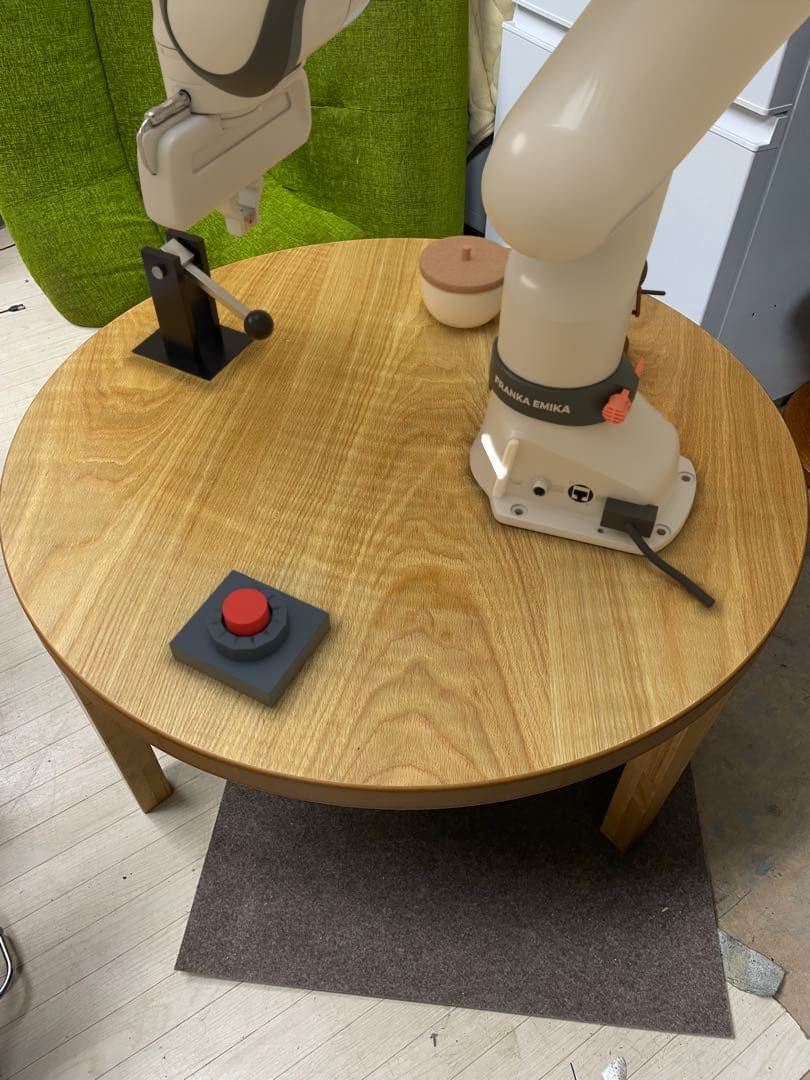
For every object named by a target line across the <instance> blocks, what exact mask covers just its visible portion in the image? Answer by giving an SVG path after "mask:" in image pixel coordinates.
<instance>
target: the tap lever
mask: <svg viewBox="0 0 810 1080" xmlns="http://www.w3.org/2000/svg"><path fill="white" fill-rule="evenodd" d="M159 250H162V251H165V252H168V253H171V254H174V255H177V256H180V260H181V265H182V269H183V274H184V275H185V276H186V277H188V278H189V279H190V280H191V281H193V282H194V283H195V284H197V285H198V286H199V287H200V288H202V289H203V290H204V291H205V292H207V293H208V294H209V295H210V296H212V297H213V298H214V299H215V300H216V302H218V303H219V304H221V305H222V306H223V307H224V308H226V309H227V310H228V311H229V312H231V313H232V314H233V315H235V316H236V317H237V318H238V319H239V320H241V321H243V330H244V333H246V334H247V335H248V336H249V337H250V338H252V339H254V341H260V342H261V341H264V340H267V339H268V338H270V337H271V336H272V334H273V333H274V330H275V321H274V318H273V316H272V315H271V314H270V313H269V312H268V311H266V310H264V309H260V308H259V309H253V310H252V309H250V308H249V307H248V306H246V304H244V303H243V302H241V301H240V300H239V299H238V298H236V297H235V296H233V295H232V293H230V292H228V291H227V290H226V289H225V288H223V287H222V286H221V285H220V284H218V282H216V281H214V279H212V277H211V278H209V277H208V276H207V275H206V274H204V273H203V272H202V271H201V270H199V269H198V268H197V267H196V266H194V265H193V264H192V262H193V258H194V254H193V253H191V252H190V251H189V250H188V249H186V248H185V247H184V246H183V245H181V244H180V243H179V242H178V241H176V240H175V239H174V238H173V239H172V240H170V241H169V242H168V243H167V242H166V243H165V244H164V245H162V246H161V247H160V248H159Z"/></svg>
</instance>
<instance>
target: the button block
mask: <svg viewBox="0 0 810 1080" xmlns="http://www.w3.org/2000/svg"><path fill="white" fill-rule="evenodd" d="M240 589H254V590H257V591H259V592H261V593H262V594H263V595H264V596H265V598H266V600H267V604H268V609H269V615H270V617H269V622H268V624H267V625H266V627H265V628H264V629H263V630H262V631H260V632H259V633H257V634H255V635H251V636H239V635H236V634H234V633H232V632H231V631H230V630H229V629H228V628H227V626H226V622H225V619H224V615H223V610H222V607H223V603H224V601H225V599H226V598H227V597H228V596H229V595H230V594H231V593H233V592H235V591H237V590H240ZM330 629H331V619H330V613H329V612H327V611H325V610H323V609H321V608H319V607H316V606H314V605H312V604H310V603H308V602H305V601H304V600H302V599H299V598H297V597H294V596H292V595H290V594H289V593H286V592H284V591H281V590H279V589H277V588H275V587H273V586H270V585H269V584H266V583H264V582H262V581H259V580H258V579H255V578H253V577H251V576H248V575H246V574H245V573H242V572H240V571H237V570H235V569H232V570H231V571H230V572H229V573H228V574H227V575H226V577H225V578H224V579H223V580H222V581H221V582H220V583H219V584H218V586H217V587H216V588H215V589H214V591H212V593H211V594H210V595H209V596H208V598H206V600H205V601H204V602H203V603H202V604H201V606H200V607H199V608H198V609H197V610H196V611H195V613H193V615H192V616H191V617H190V618H189V619H188V621H187V622H185V624H184V625H183V627H182V628H181V629H180V630H179V631H178V632H177V633H176V635H175V636H174V637H173V638H172V639H171V640H170V641H169V642H168V647H169V649H170V652H171V654H172V658H173V659H174V660H175V661H178V662H180V663H182V664H184V665H186V666H188V667H190V668H192V669H194V670H196V671H198V672H200V673H202V674H204V675H206V676H207V677H210V678H211V679H214V680H216V681H218V682H220V683H222V684H223V685H226V686H228V687H229V688H231V689H233V690H235V691H237V692H239V693H241V694H243V695H245V696H247V697H249V698H251V699H253V700H255V701H257V702H259V703H260V704H262V705H264V706H267V707H269V708H271V709H273V708H274V706H275V705H276V704H277V703H278V701H279V699H280V698H281V697H282V695H283V694H284V693H285V692H286V690H287V689H288V687H289V686H290V684H291V683H292V682H293V680H294V679H295V678H296V676H297V675H298V673H299V672H300V671H301V669H302V668H303V667H304V665H305V664H306V663H307V661H308V660H309V658H310V657H311V656H312V655H313V653H314V651H315V650H316V649H317V648H318V646H319V645H320V643H321V642H322V641H323V639H324V638H325V636H326V635H327V634H328V633H329V631H330Z"/></svg>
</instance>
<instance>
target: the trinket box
mask: <svg viewBox="0 0 810 1080" xmlns="http://www.w3.org/2000/svg"><path fill="white" fill-rule="evenodd" d="M509 252H510V251H508V250H507V249H506V248H505V247H504V246H503V245H501V244H499V243H498V242H496V241H494V240H491V239H489V238H485V237H482V236H481V237H480V236H475V235H454V236H447V237H443V238H440V239H437V240H435V241H433V242H431V243H429V244H428V245H427V246H426V247H425V248H423V250H422V251H421V253H420V255H419V258H418V268H419V285H420V292H421V297H422V301H423V303H424V305H425V307H426V309H427V310H428V312H429V313H430V315H431V316H432V317H433V318H434V319H435V320H436V321H438V322H440V323H441V324H443V325H445V326H447V327H452V328H456V329H474V328H478V327H481V326H483V325H485V324H487V323H489V322H490V321H492V319H494V318H495V317H496V316H497V314H499V312H501V303H502V293H503V284H504V274H505V266H506V262H507V258H508V255H509Z"/></svg>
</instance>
